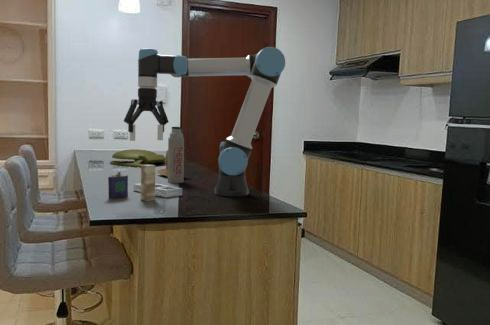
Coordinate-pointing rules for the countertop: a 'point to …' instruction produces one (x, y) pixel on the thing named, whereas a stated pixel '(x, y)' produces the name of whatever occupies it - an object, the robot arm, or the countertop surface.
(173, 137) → the thermos bottle
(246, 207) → the countertop surface
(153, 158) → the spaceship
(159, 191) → the white compartment tray
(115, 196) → the flask
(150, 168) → the birch peg
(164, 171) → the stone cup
